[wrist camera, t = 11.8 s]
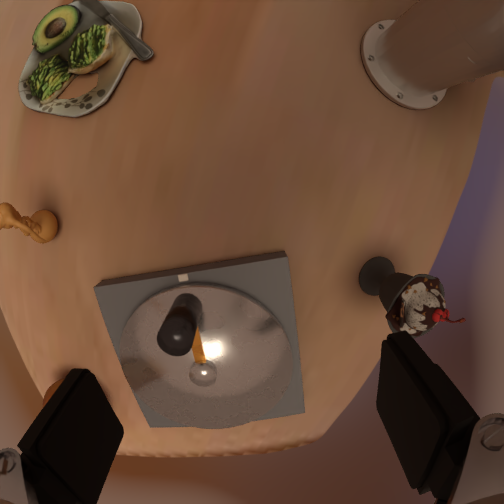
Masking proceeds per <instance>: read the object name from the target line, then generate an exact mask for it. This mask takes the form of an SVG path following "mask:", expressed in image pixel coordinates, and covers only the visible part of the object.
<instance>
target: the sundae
mask: <svg viewBox="0 0 504 504" xmlns="http://www.w3.org/2000/svg"><path fill="white" fill-rule="evenodd" d="M359 283H360V286H361V288H362V290H363V291H364V292H365V293H367V294H368V295H373V296H375V295H379V298H380V300H381V302H382V304H383V306H384V308H385V309H386V311H387V314H386V319H387V321H388V325H389V327H390V329H391V330H392V332H393V333H396V332H400V331H404V330H406V331H407V332H408V333H409V334H410V335H411V336H412V338H416V337H419V336H422V335H424V334H426V333H427V332H429V331H430V330H431V329H432V328H433V327H434V326H435V325H436V324H437V322H438V321H442V322H443V321H447V322H450V323H455V322H460V323H462V322H464V321H466V320H465V318H462V319H460V320H457V321H451V320H449V319H448V317H449V311H448V310H447V309H445V300H444V288H443V285H442V284H441V282H440V281H439V279H438V278H436V277H433V276H430V275H427V274H418V275H415V276H414V277H413V276H410V275H407V274H403V273H395V269H394V266H393V264H392V263H391V261H390V260H388V259H387V258H384V257H375V258H372V259H371V260H369V261H368V262H367V263H366V264H365V265H364V266H363V268H362V270H361V272H360V276H359Z"/></svg>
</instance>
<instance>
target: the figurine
mask: <svg viewBox="0 0 504 504" xmlns="http://www.w3.org/2000/svg"><path fill="white" fill-rule="evenodd" d="M26 220H27V221H28V222H27V221H26ZM13 226H14V228H15V229H17V228H20V230H21V231H22V232H23V233H24V235H25V236H29V234H30V236H31V238H32V239H33V240H34V241H36V242H38V243H47V242H49V241H51V240H52V239H53V238H54V236H55V235H56V233H57V228H58V224H57V220H56V218H55V216H54V215H53V214H52V213H51V212H50V211H47V210H39V211H37V212H35V213H34V214H33V215H32V216H31V218H29V217H28V216H23V217H21V215H20V214H19V212H18V211H16V210H15V208H14V207H13V206H12V205H11V204H9V203H1V204H0V229H2V228H6V229H9V228H12V227H13Z"/></svg>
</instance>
